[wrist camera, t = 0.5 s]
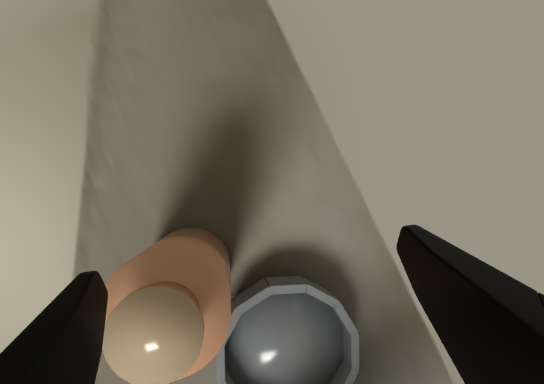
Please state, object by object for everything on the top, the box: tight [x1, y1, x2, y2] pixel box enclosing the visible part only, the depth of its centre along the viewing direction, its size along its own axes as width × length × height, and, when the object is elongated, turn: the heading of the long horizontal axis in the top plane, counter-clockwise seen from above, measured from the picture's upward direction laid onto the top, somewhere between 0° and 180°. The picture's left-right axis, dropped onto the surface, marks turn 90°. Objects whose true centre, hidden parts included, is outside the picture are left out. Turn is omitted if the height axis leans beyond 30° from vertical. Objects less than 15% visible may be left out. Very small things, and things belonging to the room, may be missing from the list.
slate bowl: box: [216, 275, 359, 384], centre depth 24 cm, size 10×10×2 cm
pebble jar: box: [102, 227, 231, 384], centre depth 19 cm, size 6×6×12 cm
